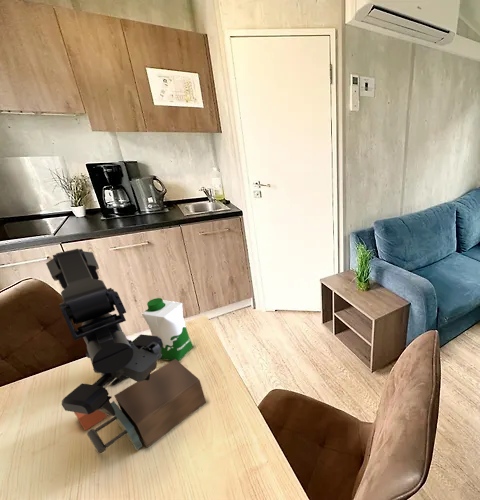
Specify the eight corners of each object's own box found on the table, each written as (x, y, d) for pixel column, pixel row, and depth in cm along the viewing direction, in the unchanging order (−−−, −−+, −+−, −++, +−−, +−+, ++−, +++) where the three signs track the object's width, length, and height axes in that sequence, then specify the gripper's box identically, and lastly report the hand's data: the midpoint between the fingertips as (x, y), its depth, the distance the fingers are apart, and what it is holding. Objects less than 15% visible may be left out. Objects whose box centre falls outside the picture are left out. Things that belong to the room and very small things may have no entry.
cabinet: (147, 447, 67) (136, 423, 63) (125, 418, 73) (114, 395, 70) (206, 402, 78) (199, 379, 74) (182, 380, 84) (175, 358, 81)
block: (79, 421, 72) (72, 409, 71) (100, 407, 76) (94, 396, 74) (85, 431, 70) (78, 418, 68) (107, 416, 74) (101, 405, 72)
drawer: (109, 471, 61) (97, 452, 58) (90, 440, 67) (79, 421, 64) (194, 406, 75) (188, 388, 73) (172, 385, 81) (166, 368, 79)
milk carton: (175, 341, 99) (159, 293, 91) (197, 345, 97) (184, 296, 89) (154, 360, 91) (135, 309, 83) (179, 364, 89) (162, 313, 81)
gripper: (98, 386, 48) (127, 443, 55) (175, 318, 65) (190, 368, 72) (43, 378, 50) (77, 435, 56) (132, 313, 67) (150, 363, 73)
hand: (131, 396), depth 64 cm, fingers open, 9 cm apart
